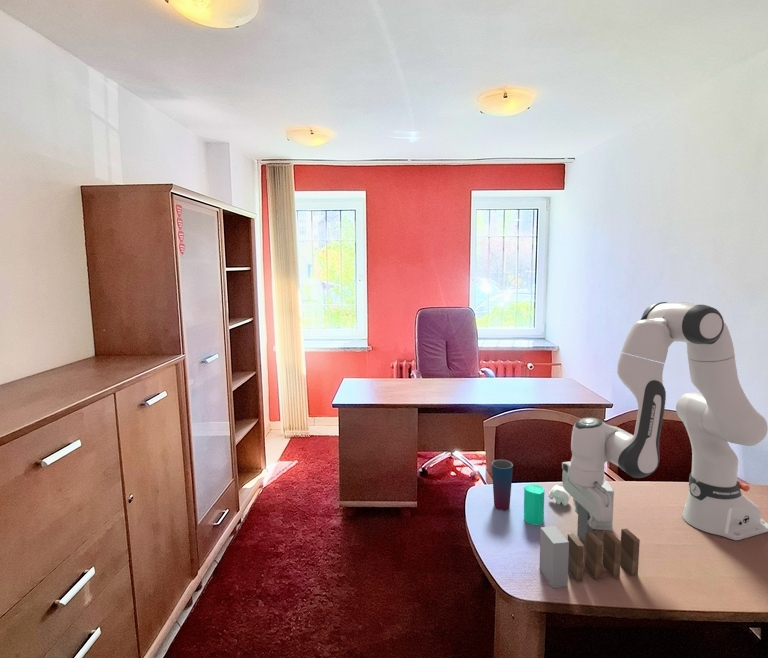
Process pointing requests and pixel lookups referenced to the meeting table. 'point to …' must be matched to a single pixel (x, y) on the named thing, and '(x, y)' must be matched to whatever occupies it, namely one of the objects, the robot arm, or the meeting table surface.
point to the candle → (534, 504)
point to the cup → (502, 483)
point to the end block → (554, 556)
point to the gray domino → (583, 522)
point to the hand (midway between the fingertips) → (585, 519)
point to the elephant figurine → (559, 494)
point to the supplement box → (609, 524)
